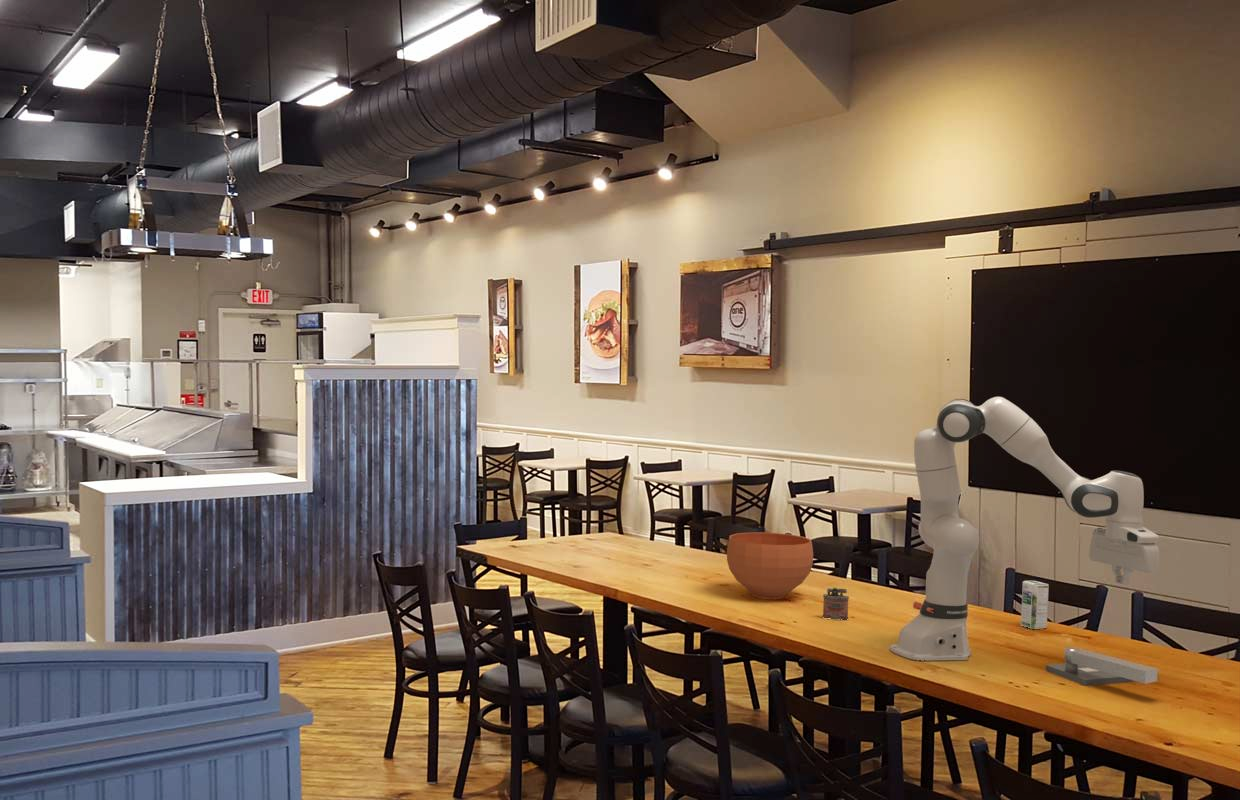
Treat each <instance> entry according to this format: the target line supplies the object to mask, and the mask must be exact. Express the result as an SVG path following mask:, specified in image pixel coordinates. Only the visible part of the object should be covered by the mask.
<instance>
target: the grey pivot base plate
mask: <svg viewBox="0 0 1240 800" xmlns="http://www.w3.org/2000/svg"><path fill="white" fill-rule="evenodd" d="M1045 671H1046V672H1049V673H1051V674H1054V675H1055V676H1056V675H1057V676H1058V677H1062V678H1064V679H1067V680H1070V681H1072V682H1075V683H1078V684H1080V685H1083V686H1086V687H1089V686H1098V685H1108V684H1119V683H1130V682H1131V681H1132V682H1135V681H1134V680H1130V679H1127V678H1123V677H1120V676H1116V675H1112V674H1109V673H1105V672H1102V671H1098V670H1095V669H1091V668H1087V667H1084V666H1080V665H1077V664H1073V663H1071V662H1069V661H1066V660H1065V663H1054V664H1052V663H1051V664H1045ZM1157 678H1158V679H1159V674H1158V675H1157ZM1088 685H1089V686H1088Z"/></svg>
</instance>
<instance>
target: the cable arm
mask: <svg viewBox="0 0 1240 800" xmlns="http://www.w3.org/2000/svg"><path fill="white" fill-rule="evenodd" d="M1064 661H1065V662H1066V661H1069V662H1071V663H1073V664H1077V665H1080V666H1084V667H1087V668H1091V669H1095V670H1098V671H1102V672H1105V673H1109V674H1112V675H1116V676H1120V677H1123V678H1127V679H1130V680H1134V681H1133V682H1138V683H1141V684H1144V685H1145V684H1150V683H1155V682H1158V679H1157V675H1158V676H1159V672H1158V669H1159V668H1155V667H1153V666H1147V665H1145V664H1140V663H1137V662H1133V661H1129V660H1126V659H1125V660H1124V659H1122V658H1118V657H1115V656H1110V655H1106V654H1103V653H1099V652H1095V651H1091V650H1087V649H1083V648H1082V649H1080V648H1077V647H1073V646H1066V647H1064Z"/></svg>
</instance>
